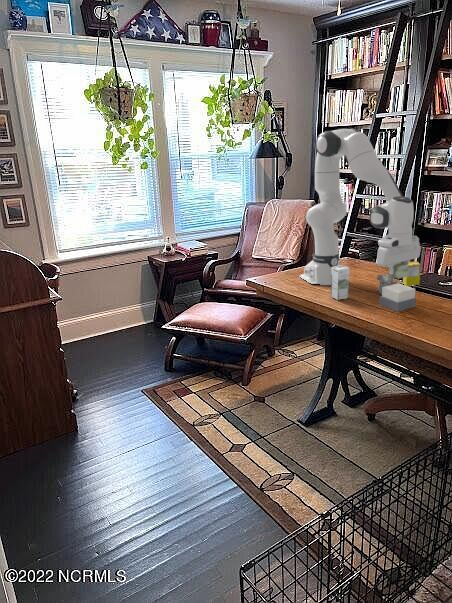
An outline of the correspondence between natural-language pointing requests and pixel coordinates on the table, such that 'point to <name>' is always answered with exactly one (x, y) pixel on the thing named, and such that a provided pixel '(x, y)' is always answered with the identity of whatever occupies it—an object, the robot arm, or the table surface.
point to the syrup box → (340, 282)
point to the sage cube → (400, 270)
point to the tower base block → (397, 304)
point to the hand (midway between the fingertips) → (398, 272)
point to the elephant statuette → (385, 281)
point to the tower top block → (398, 292)
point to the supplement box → (412, 274)
